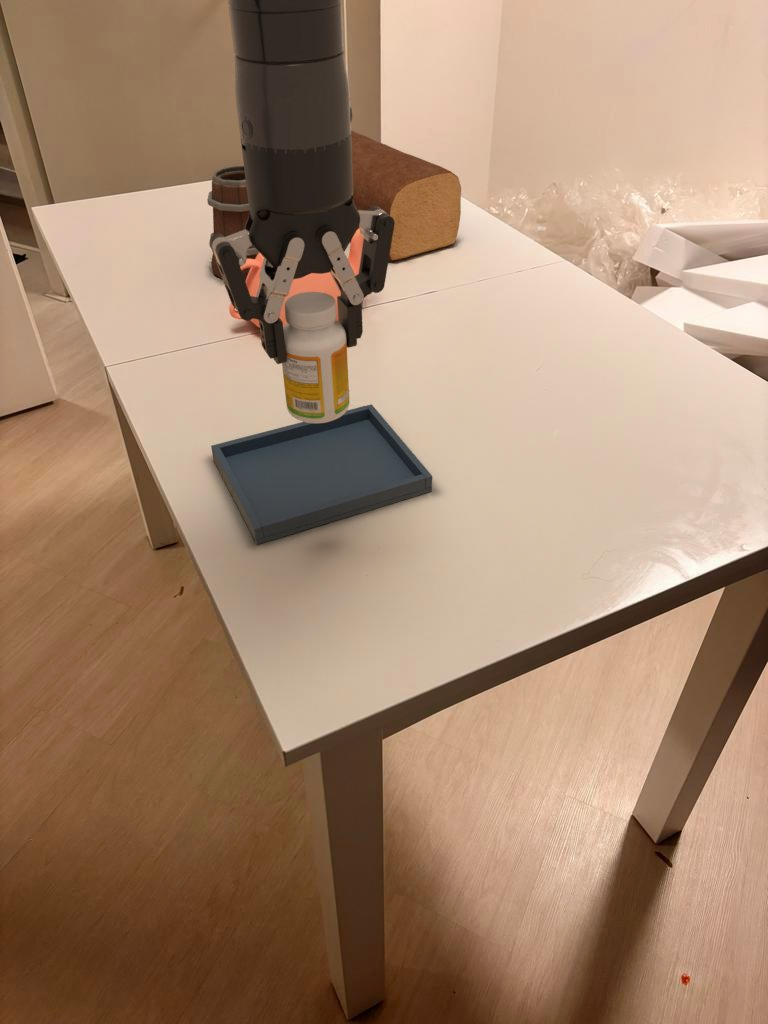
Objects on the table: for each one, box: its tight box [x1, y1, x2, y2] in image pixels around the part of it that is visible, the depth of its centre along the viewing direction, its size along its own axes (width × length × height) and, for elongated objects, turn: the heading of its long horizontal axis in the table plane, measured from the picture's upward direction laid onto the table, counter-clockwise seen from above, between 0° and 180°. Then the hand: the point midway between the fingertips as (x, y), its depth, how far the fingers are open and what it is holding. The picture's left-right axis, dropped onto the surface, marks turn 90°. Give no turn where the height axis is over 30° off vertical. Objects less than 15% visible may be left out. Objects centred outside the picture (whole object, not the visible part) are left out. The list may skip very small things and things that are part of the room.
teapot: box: [228, 228, 364, 329], centre depth 113 cm, size 22×16×12 cm
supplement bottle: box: [281, 292, 350, 423], centre depth 66 cm, size 5×5×10 cm
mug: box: [207, 165, 259, 282], centre depth 128 cm, size 16×12×15 cm
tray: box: [210, 403, 433, 545], centre depth 87 cm, size 20×16×2 cm
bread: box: [351, 129, 462, 262], centre depth 142 cm, size 16×39×13 cm, turn 34°
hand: (313, 350), depth 65 cm, fingers closed on supplement bottle, 5 cm apart
